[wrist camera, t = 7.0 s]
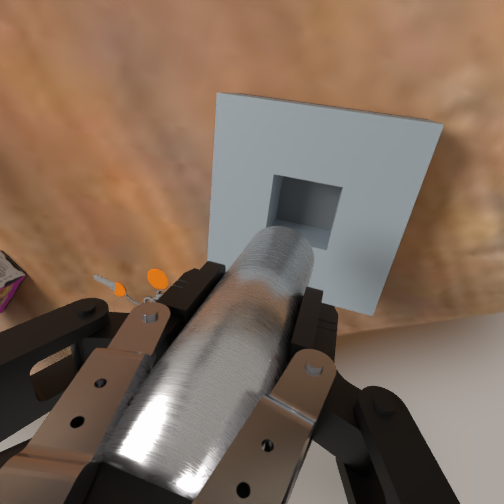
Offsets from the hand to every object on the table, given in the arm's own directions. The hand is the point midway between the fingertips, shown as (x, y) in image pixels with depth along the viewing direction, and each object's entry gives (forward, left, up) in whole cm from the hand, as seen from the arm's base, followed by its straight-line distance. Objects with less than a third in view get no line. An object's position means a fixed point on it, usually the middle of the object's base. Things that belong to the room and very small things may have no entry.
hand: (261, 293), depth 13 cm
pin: (0, 0, -4) cm, 4 cm away
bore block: (0, 0, -16) cm, 16 cm away
